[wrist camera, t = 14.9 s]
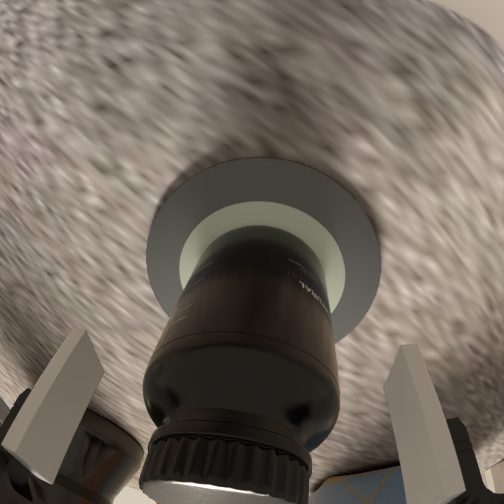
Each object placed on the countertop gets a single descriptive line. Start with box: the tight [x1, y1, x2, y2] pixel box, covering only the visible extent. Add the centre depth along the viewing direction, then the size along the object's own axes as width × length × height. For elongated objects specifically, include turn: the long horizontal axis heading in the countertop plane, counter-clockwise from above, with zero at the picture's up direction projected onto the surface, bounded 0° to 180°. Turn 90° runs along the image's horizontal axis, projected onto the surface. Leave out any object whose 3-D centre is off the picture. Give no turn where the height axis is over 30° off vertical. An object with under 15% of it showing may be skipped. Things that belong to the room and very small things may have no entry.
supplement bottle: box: [139, 225, 340, 504], centre depth 12 cm, size 7×7×12 cm
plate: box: [146, 157, 381, 343], centre depth 17 cm, size 13×13×1 cm
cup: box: [485, 461, 504, 494], centre depth 29 cm, size 7×7×11 cm
